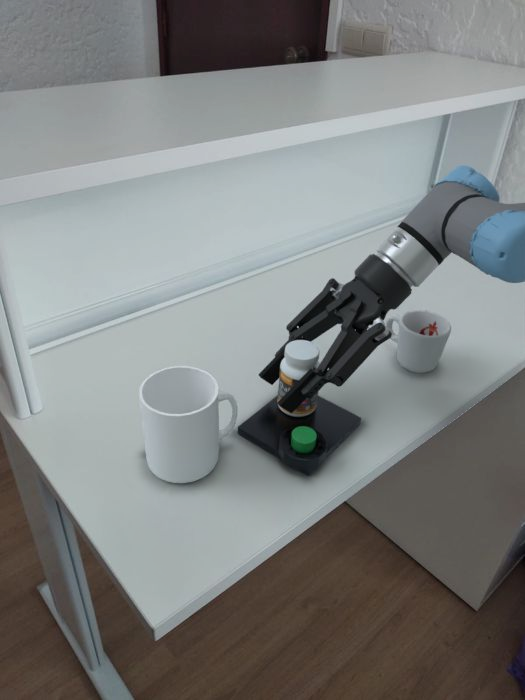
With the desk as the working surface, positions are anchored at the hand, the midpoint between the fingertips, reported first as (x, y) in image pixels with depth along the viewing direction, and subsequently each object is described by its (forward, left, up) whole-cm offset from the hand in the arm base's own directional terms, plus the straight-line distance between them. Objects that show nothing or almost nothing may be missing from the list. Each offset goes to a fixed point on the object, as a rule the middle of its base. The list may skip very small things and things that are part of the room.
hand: (274, 393), depth 80 cm
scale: (-4, -1, -5) cm, 6 cm away
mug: (+4, +13, -5) cm, 14 cm away
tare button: (-8, +4, -2) cm, 9 cm away
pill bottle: (-2, -3, -3) cm, 5 cm away
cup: (-8, -26, -5) cm, 28 cm away
